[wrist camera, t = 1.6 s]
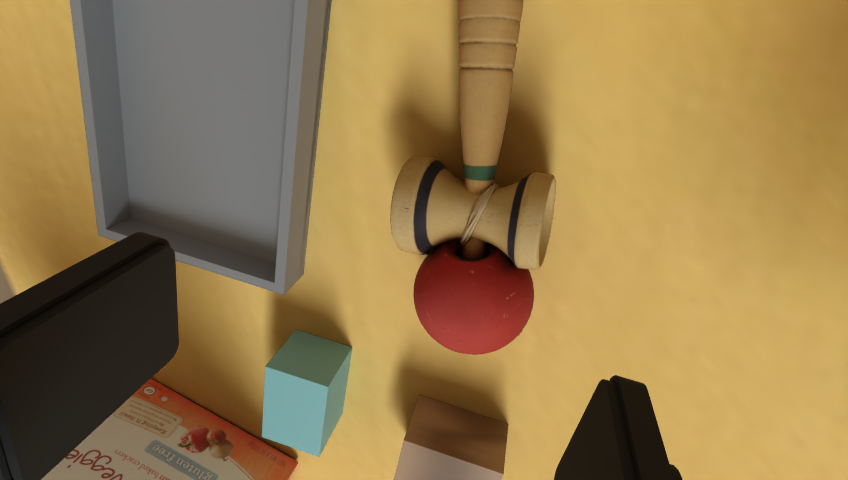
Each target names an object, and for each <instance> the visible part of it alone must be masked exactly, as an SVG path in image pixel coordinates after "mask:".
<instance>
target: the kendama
mask: <svg viewBox="0 0 848 480" xmlns="http://www.w3.org/2000/svg"><path fill="white" fill-rule="evenodd" d="M522 9H523V0H459V21H460V22H459V43H460V46H459V66H460V68H461V69H460V70H459V104H460V127H461V139H462V152H463V162H464V163H463V164H464V174H465V183H464V182H462V181H461V180H459V179H457V178H456V177H455V176H454V175H452V174H451V173H450V172H449V171H448V170H447V168H446V167H445V166H444V164H443V163H442V161H441V160H440V159H438V158H436V157H421V156H415V157H411V158H410V159H409V160H408V161H407V162H406V163H405V164H404V166H403V167H402V169H401V171H400V173H399V175H398V178H397V181H396V184H395V187H394V191H393V196H392V203H391V218H390V221H391V230H392V235H393V238H394V241H395V243H396V245H397V247H398V248H399V249H400V250H402V251H405V252H410V253H415V254H419V255H425V254H427V255H428V256H427V257H426V258H425V260H424V261H423V263H422V264H421V266H420V268H419V270H418V272H417V275H416V279H415V283H414V304H415V309H416V312H417V315H418V318H419V320H420V322H421V324H422V325H423V327H424V328H425V330H426V331H427V332H428V334H429V335H430V336H431V337H432V338H433V339H435V340H436V341H437V342H438V343H440V344H441V345H442V346H444V347H446V348H448V349H450V350H452V351H455V352H459V353H463V354H473V355H476V354H485V353H490V352H493V351H496V350H498V349H500V348H502V347H504V346H506V345H507V344H509V343H510V342H511V341H512V340H514V339H515V338H516V337H517V336H518V335H519V334H520V333H521V332H522V330H523V328H524V327H525V325H526V323H527V321H528V319H529V318H530V315H531V311H532V308H533V301H534V288H533V282H532V278H531V275H530V272H529V270H528V269H534V270H537V269H539V268H540V267H541V266H542V263H543V261H544V257H545V254H546V250H547V246H548V242H549V237H550V232H551V225H552V219H553V212H554V202H555V191H556V180H555V177H554V176H553V175H550V174H545V173H540V172H533V173H531V174H529V175H528V176H527V177H525V178H523V179H522V180H520V181H518V182H516V183H514V184H512V185H509V186H506V187H500V188H499V186H498V185H496V184H495V183H494V176H495V172H496V169H497V163H498V159H499V154H500V149H501V145H502V140H503V135H504V131H505V125H506V120H507V115H508V108H509V102H510V95H511V89H512V81H513V71H512V69H513V68H514V66H515V59H516V51H517V48H516V44H517V43H518V37H519V29H520V21H521V15H522Z"/></svg>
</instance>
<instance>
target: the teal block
mask: <svg viewBox="0 0 848 480" xmlns="http://www.w3.org/2000/svg"><path fill="white" fill-rule="evenodd" d="M351 352H352V347H350V346H347V345H343V344H340V343H337V342H334V341H331V340H328V339H324V338H321V337H318V336H315V335H312V334H308V333H305V332H302V331H299V330H295V331H294V332H293V334H292V335H291V336H290V337H289V338H288V340H287V341H286V342H285V343H284V344H283V346H282V347H281V348H280V349H279V351H278V352H277V353H276V354H275V355H274V357H273V358H272V359H271V360H270V361H269V363H268V364H267V365H266V366H265V383H264V403H263V424H262V437H263V438H266V439H269V440H272V441H275V442H278V443H280V444H283V445H286V446H289V447H292V448H295V449H298V450H301V451H304V452H306V453H309V454H312V455H315V456H318V457H319V456H320V455H321V453H322V451H323V449H324V447H325V445H326V443H327V441H328V439H329V437H330V436H331V434H332V432H333V430H334V428H335V426H336V424H337V422H338V420H339V418H340V417H341V415H342V412H343V406H344V399H345V392H346V386H347V379H348V372H349V366H350V359H351Z"/></svg>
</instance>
